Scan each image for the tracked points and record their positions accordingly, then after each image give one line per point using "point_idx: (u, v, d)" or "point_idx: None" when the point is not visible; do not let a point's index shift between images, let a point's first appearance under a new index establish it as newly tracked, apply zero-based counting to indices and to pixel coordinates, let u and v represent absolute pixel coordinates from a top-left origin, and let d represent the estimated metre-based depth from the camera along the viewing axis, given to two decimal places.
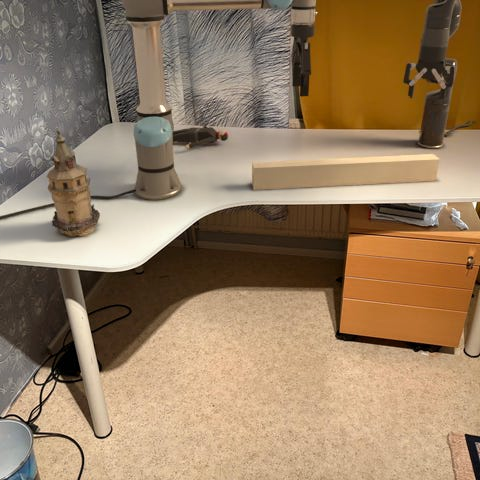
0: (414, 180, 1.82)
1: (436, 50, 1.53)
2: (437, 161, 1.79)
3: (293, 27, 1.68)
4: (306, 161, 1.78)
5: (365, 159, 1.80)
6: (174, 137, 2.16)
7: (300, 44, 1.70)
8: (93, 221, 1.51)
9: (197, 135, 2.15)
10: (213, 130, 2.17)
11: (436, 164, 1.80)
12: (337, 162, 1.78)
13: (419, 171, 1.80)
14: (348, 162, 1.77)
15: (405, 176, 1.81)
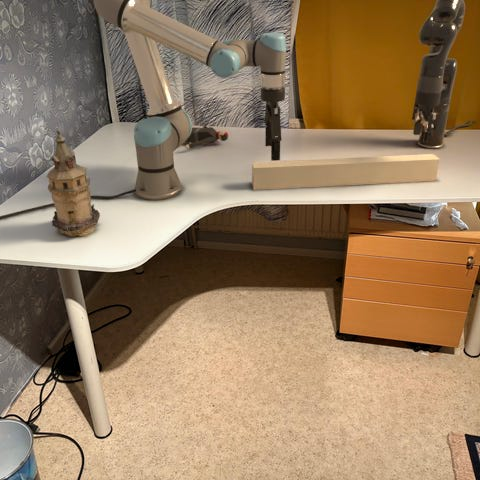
0: (414, 180, 1.82)
1: (419, 94, 1.68)
2: (437, 161, 1.79)
3: (262, 91, 1.63)
4: (306, 161, 1.78)
5: (365, 159, 1.80)
6: None
7: (270, 108, 1.65)
8: (93, 221, 1.51)
9: (197, 135, 2.15)
10: (213, 130, 2.17)
11: (436, 164, 1.80)
12: (337, 162, 1.78)
13: (419, 171, 1.80)
14: (348, 162, 1.77)
15: (405, 176, 1.81)
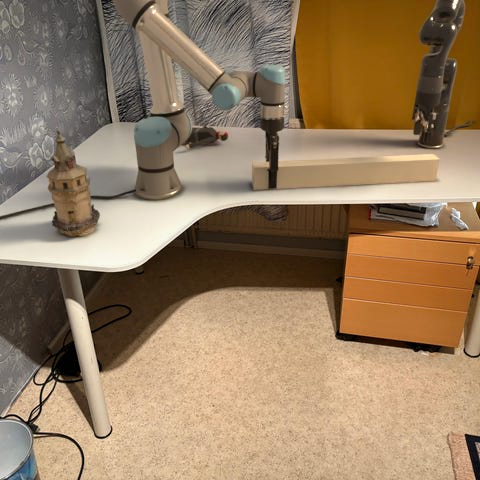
0: (414, 180, 1.82)
1: (419, 94, 1.68)
2: (437, 161, 1.79)
3: (262, 121, 1.68)
4: (306, 161, 1.78)
5: (365, 159, 1.80)
6: None
7: (269, 137, 1.69)
8: (93, 221, 1.51)
9: (197, 135, 2.15)
10: (213, 130, 2.17)
11: (436, 164, 1.80)
12: (337, 162, 1.78)
13: (419, 171, 1.80)
14: (348, 162, 1.77)
15: (405, 176, 1.81)
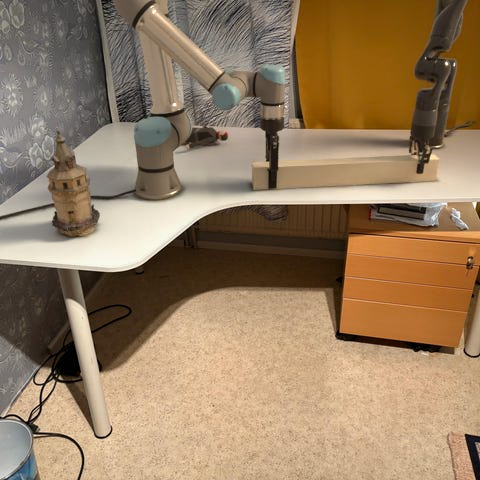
0: (414, 180, 1.82)
1: (414, 126, 1.74)
2: (437, 161, 1.79)
3: (262, 121, 1.68)
4: (306, 161, 1.78)
5: (365, 159, 1.80)
6: None
7: (269, 137, 1.69)
8: (93, 221, 1.51)
9: (197, 135, 2.15)
10: (213, 130, 2.17)
11: (436, 164, 1.80)
12: (337, 162, 1.78)
13: None
14: (348, 162, 1.77)
15: (405, 176, 1.81)
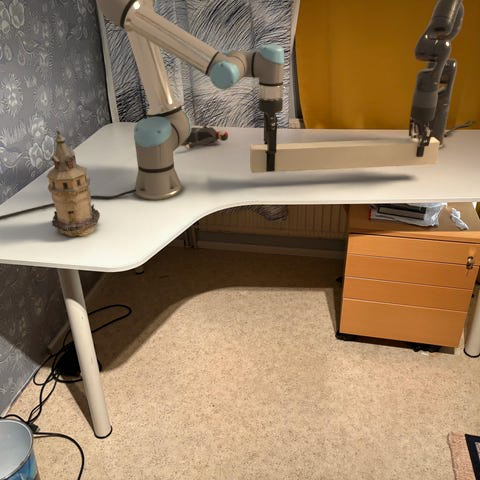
0: (414, 163, 1.80)
1: (414, 108, 1.71)
2: (437, 144, 1.77)
3: (260, 102, 1.65)
4: (304, 144, 1.76)
5: (364, 142, 1.77)
6: None
7: (268, 118, 1.67)
8: (93, 221, 1.51)
9: (197, 135, 2.15)
10: (213, 130, 2.17)
11: (436, 147, 1.77)
12: (336, 144, 1.75)
13: None
14: (347, 145, 1.75)
15: (404, 159, 1.78)
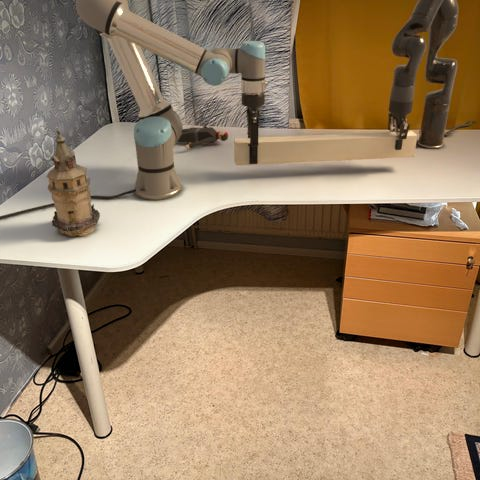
0: (393, 156, 1.86)
1: (392, 103, 1.78)
2: (415, 137, 1.83)
3: (243, 96, 1.72)
4: (286, 138, 1.82)
5: (344, 135, 1.84)
6: None
7: (250, 112, 1.73)
8: (93, 221, 1.51)
9: (197, 135, 2.15)
10: (213, 130, 2.17)
11: (414, 140, 1.84)
12: (317, 138, 1.82)
13: None
14: (328, 138, 1.81)
15: (383, 152, 1.85)
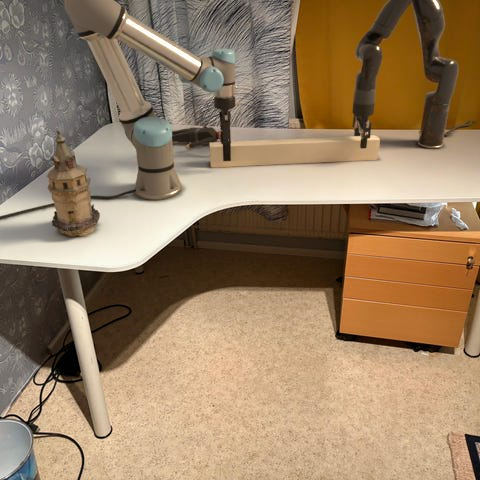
0: (358, 159, 2.00)
1: (355, 105, 1.91)
2: (378, 141, 1.97)
3: (215, 100, 1.85)
4: (258, 142, 1.96)
5: (312, 139, 1.97)
6: (174, 137, 2.16)
7: (222, 115, 1.86)
8: (93, 221, 1.51)
9: (197, 135, 2.15)
10: (213, 130, 2.17)
11: (377, 144, 1.97)
12: (286, 142, 1.95)
13: (362, 150, 1.98)
14: (296, 142, 1.95)
15: (349, 155, 1.98)
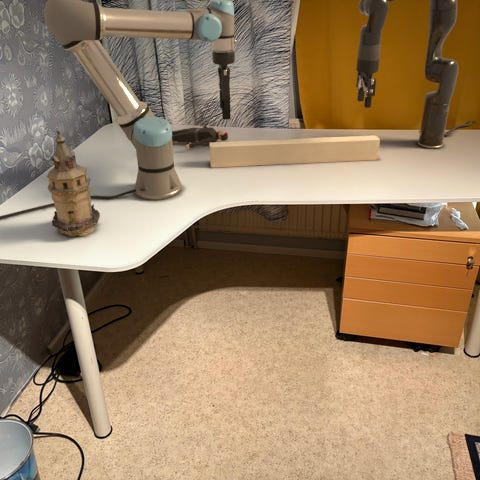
0: (358, 159, 2.00)
1: (359, 62, 1.83)
2: (378, 141, 1.97)
3: (213, 54, 1.77)
4: (258, 142, 1.96)
5: (312, 139, 1.97)
6: (174, 137, 2.16)
7: (221, 70, 1.79)
8: (93, 221, 1.51)
9: (197, 135, 2.15)
10: (213, 130, 2.17)
11: (377, 144, 1.97)
12: (286, 142, 1.95)
13: (362, 150, 1.98)
14: (296, 142, 1.95)
15: (349, 155, 1.98)
